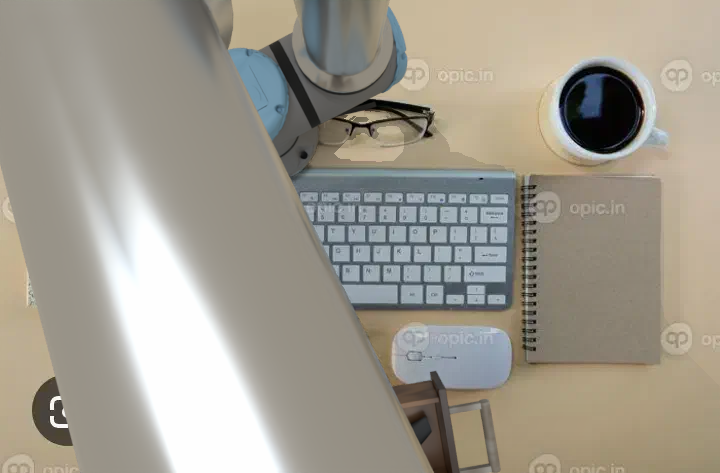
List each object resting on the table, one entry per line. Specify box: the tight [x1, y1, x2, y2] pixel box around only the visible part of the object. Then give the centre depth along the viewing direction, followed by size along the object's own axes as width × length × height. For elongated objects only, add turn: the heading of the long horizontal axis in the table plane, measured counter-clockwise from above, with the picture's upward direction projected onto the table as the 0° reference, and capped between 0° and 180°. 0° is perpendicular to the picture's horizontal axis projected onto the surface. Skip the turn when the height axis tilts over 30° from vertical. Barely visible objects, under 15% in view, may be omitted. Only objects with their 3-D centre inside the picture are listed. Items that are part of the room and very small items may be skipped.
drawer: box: [392, 370, 502, 473], centre depth 54 cm, size 19×13×7 cm
